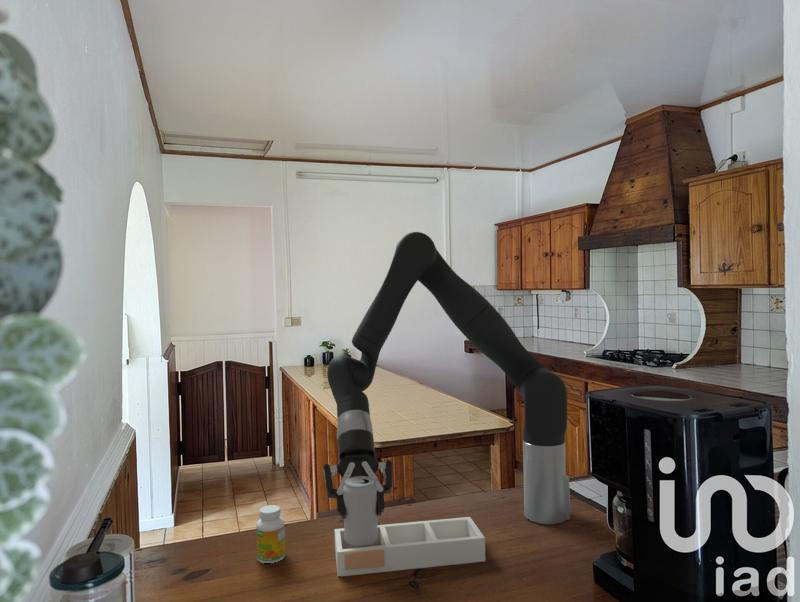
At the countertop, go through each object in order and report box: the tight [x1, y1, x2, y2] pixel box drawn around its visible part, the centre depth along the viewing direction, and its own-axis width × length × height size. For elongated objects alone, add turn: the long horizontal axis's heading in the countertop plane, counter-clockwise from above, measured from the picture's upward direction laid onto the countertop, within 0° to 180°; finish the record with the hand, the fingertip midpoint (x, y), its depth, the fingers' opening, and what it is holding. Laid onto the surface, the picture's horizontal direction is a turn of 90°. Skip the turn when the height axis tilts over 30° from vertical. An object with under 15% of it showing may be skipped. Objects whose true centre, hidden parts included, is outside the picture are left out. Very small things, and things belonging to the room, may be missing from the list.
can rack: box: [334, 516, 486, 577], centre depth 108 cm, size 28×10×4 cm, turn 99°
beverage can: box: [343, 476, 378, 548], centre depth 107 cm, size 6×6×12 cm
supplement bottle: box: [255, 504, 286, 564], centre depth 109 cm, size 5×5×10 cm
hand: (361, 515), depth 106 cm, fingers closed on beverage can, 6 cm apart
